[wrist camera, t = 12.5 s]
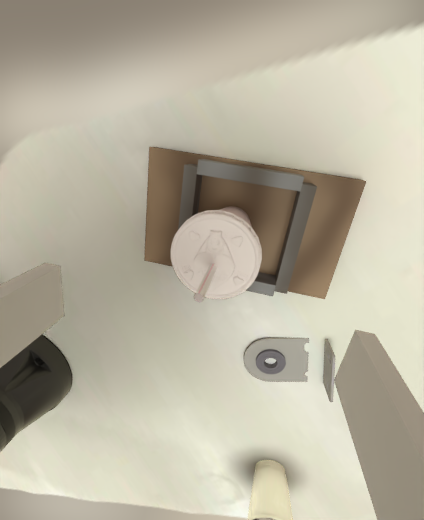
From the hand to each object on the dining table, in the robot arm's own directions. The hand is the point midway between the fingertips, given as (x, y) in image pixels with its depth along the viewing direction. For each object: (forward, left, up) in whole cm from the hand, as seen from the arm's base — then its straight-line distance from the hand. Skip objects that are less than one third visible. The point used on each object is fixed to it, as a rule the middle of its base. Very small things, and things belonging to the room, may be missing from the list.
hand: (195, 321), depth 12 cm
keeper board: (0, 0, -18) cm, 18 cm away
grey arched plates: (+9, -16, -19) cm, 26 cm away
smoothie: (-1, 0, -17) cm, 17 cm away
